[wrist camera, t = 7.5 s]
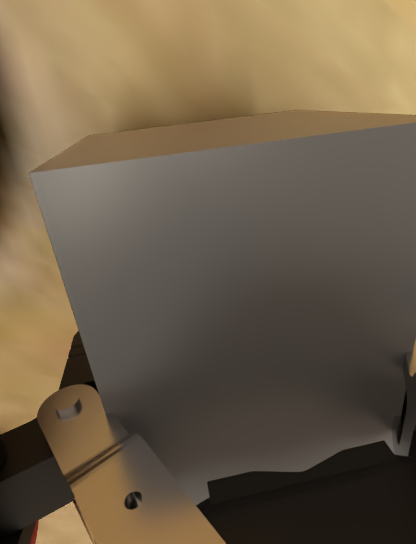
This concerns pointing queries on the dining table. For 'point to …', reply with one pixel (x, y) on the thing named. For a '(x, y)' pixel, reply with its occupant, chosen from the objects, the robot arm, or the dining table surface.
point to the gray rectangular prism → (242, 283)
